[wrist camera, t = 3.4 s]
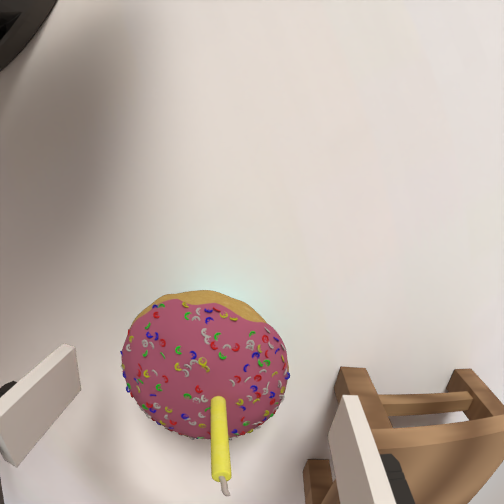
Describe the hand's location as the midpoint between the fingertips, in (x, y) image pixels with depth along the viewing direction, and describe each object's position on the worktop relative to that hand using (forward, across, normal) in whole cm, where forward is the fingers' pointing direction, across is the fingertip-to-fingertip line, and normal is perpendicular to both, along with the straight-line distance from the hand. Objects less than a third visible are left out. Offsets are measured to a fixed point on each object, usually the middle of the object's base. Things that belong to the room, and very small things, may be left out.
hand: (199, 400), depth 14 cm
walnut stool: (+6, +14, -6) cm, 17 cm away
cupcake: (+6, 0, +1) cm, 6 cm away
